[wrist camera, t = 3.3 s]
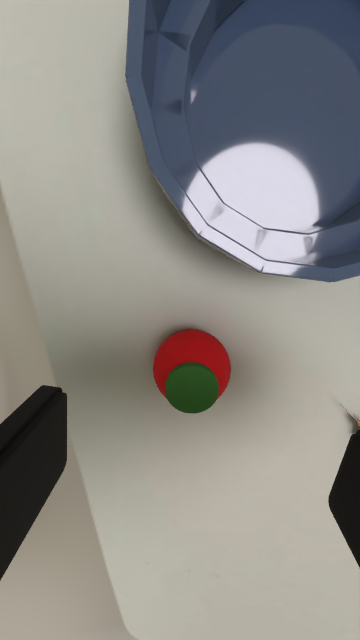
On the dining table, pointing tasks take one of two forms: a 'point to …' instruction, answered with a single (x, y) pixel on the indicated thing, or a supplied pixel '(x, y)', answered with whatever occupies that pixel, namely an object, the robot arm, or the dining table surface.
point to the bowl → (255, 126)
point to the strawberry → (191, 370)
